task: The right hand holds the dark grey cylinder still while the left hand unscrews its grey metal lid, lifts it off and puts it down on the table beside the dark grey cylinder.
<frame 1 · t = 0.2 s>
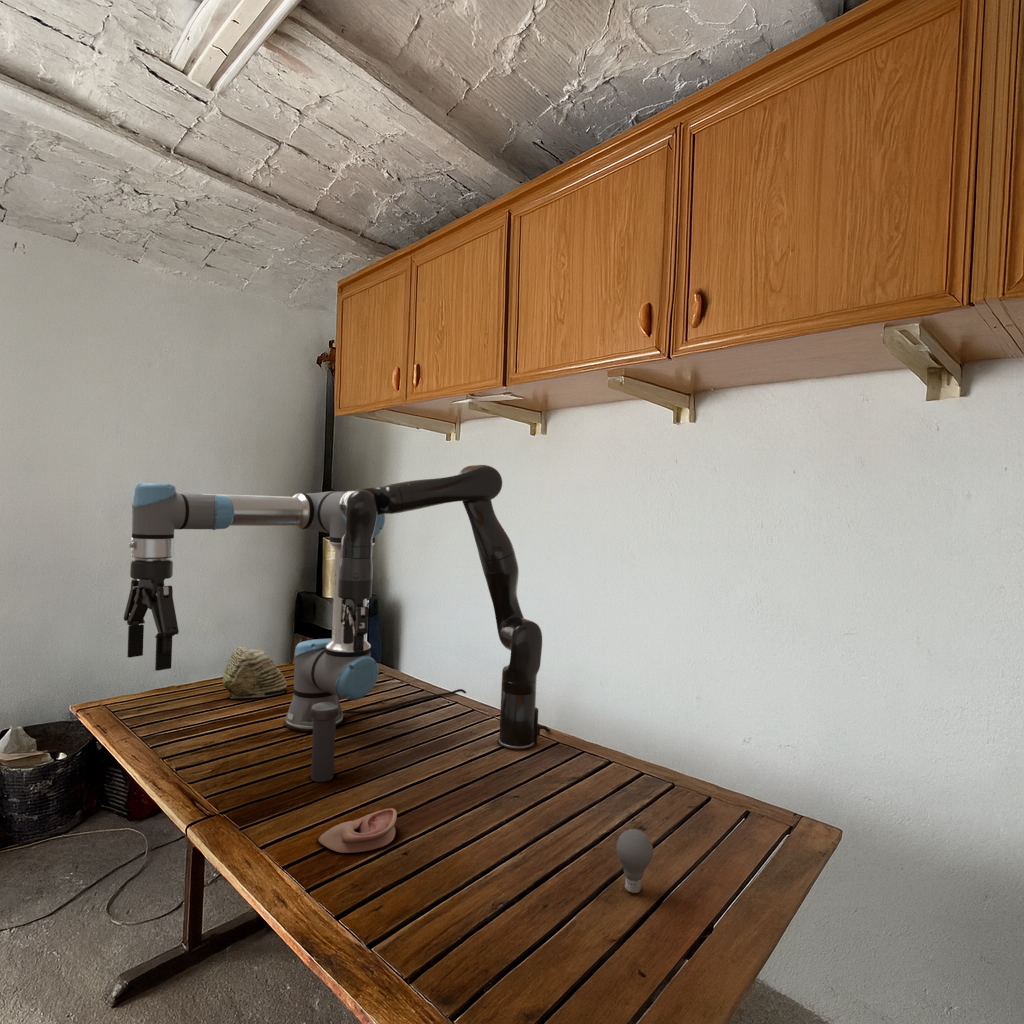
left hand: (148, 662, 129), 28 cm above the table, tool pointing down, fingers open, 13 cm apart
right hand: (352, 647, 145), 29 cm above the table, tool pointing down, fingers open, 8 cm apart
anatomical model: (358, 838, 118), on the table
lid: (325, 707, 143), point 16 cm above the table, screwed on, not yet turned
dark grey cylinder: (322, 777, 143), on the table
light bulb: (632, 891, 106), on the table
fossil: (254, 694, 198), on the table
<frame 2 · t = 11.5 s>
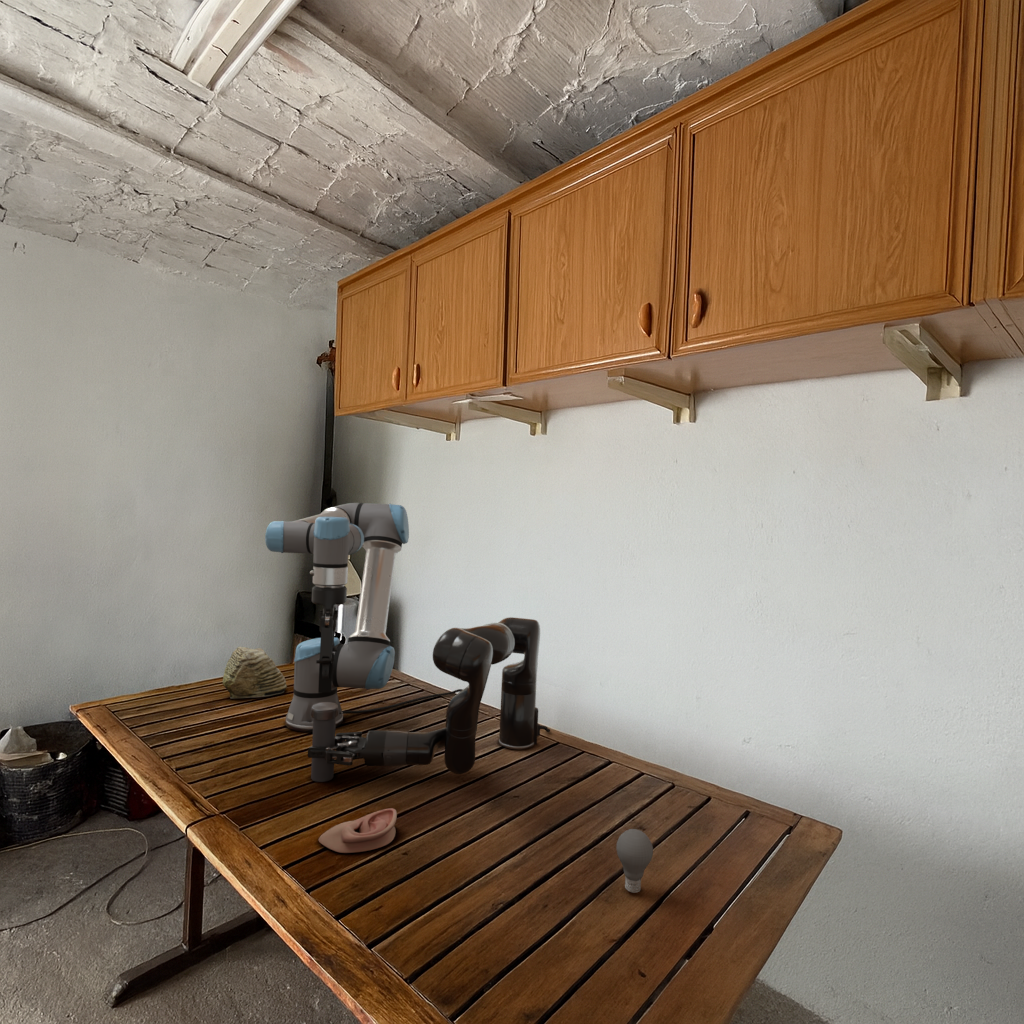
left hand: (325, 686, 143), 21 cm above the table, tool pointing down, fingers open, 8 cm apart
right hand: (311, 747, 143), 7 cm above the table, tool horizontal, fingers closed on dark grey cylinder, 5 cm apart
dark grey cylinder: (322, 777, 143), on the table, touching right hand
everything else where it was.
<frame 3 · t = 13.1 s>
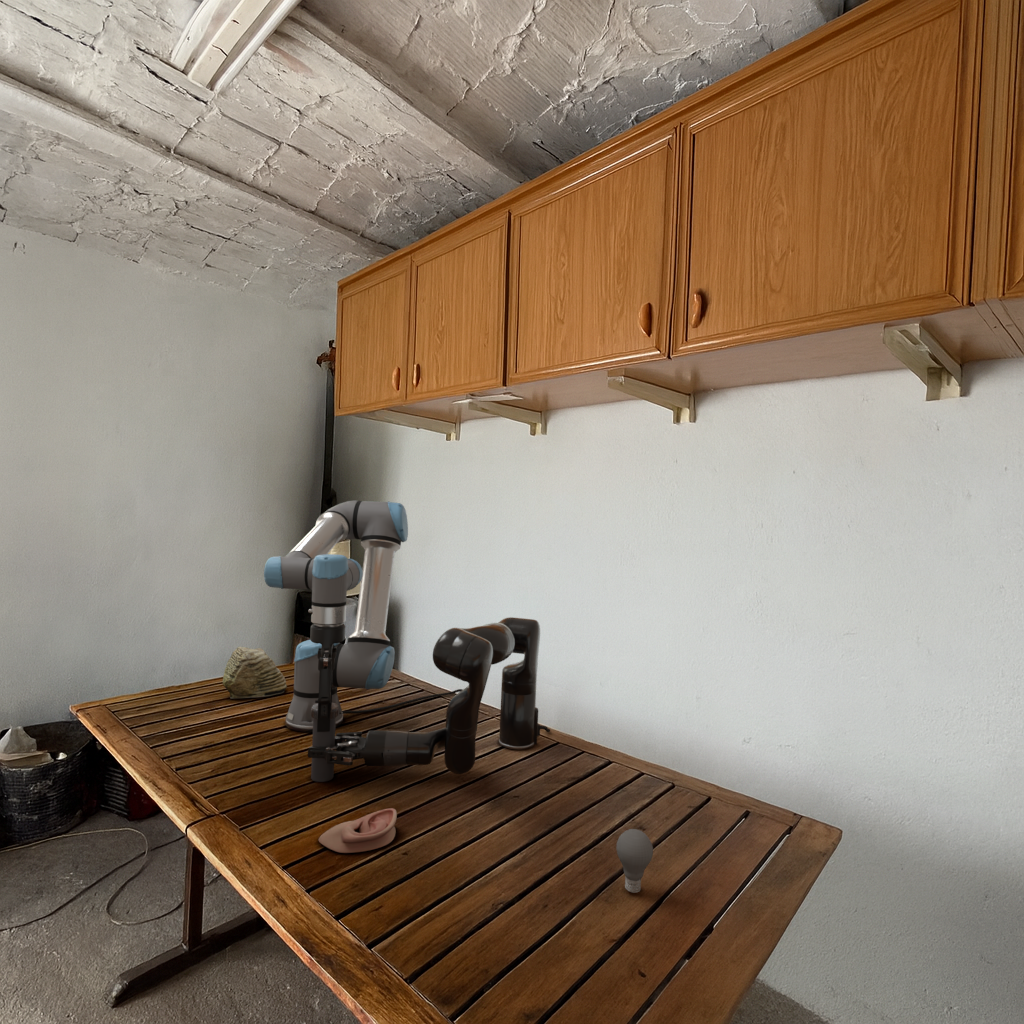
left hand: (324, 725, 143), 12 cm above the table, tool pointing down, fingers closed on lid, 6 cm apart
right hand: (311, 747, 143), 7 cm above the table, tool horizontal, fingers closed on dark grey cylinder, 5 cm apart
lid: (325, 707, 143), point 16 cm above the table, screwed on, not yet turned, touching left hand
dark grey cylinder: (322, 777, 143), on the table, touching right hand
everything else where it was.
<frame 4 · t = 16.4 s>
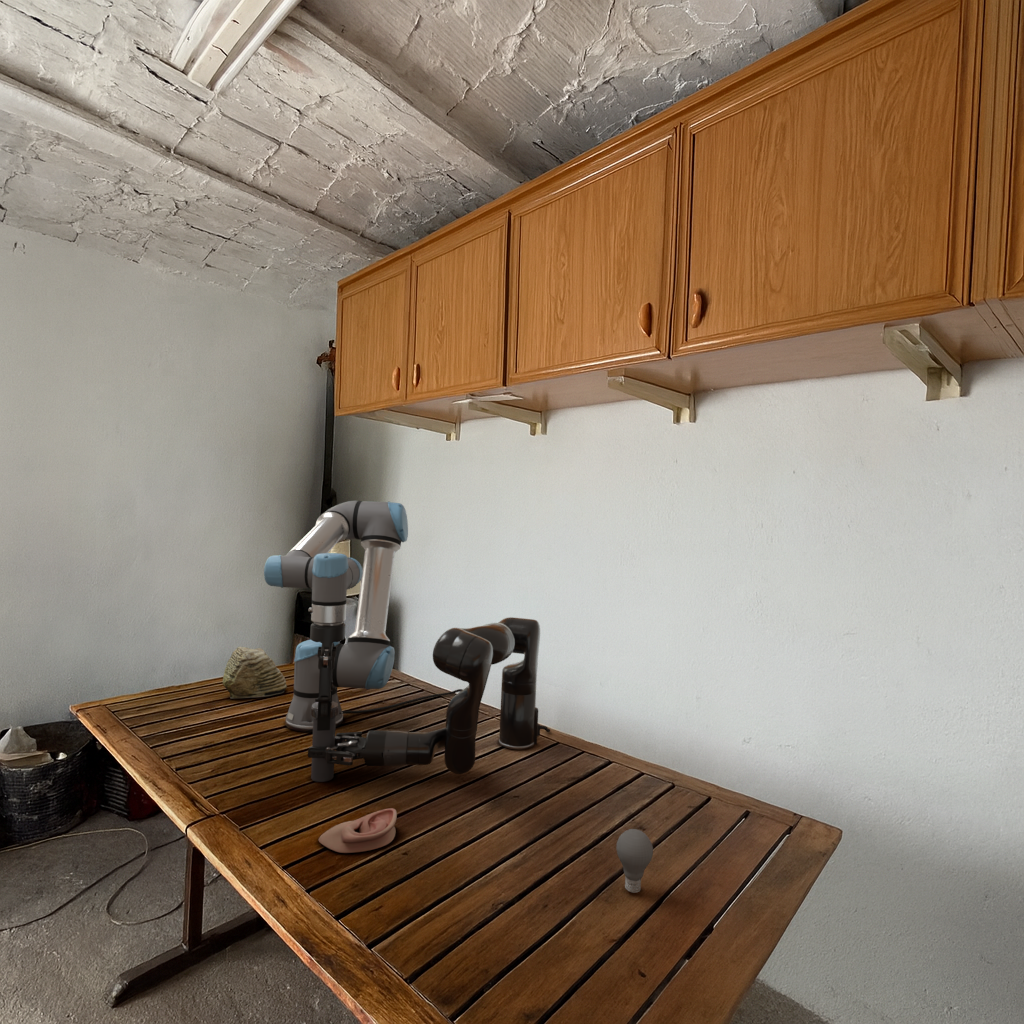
left hand: (324, 724, 143), 12 cm above the table, tool pointing down, fingers closed on lid, 6 cm apart
right hand: (311, 747, 143), 7 cm above the table, tool horizontal, fingers closed on dark grey cylinder, 5 cm apart
lid: (325, 706, 143), point 16 cm above the table, turned 88° so far, risen 0.3 cm, still on its thread, touching left hand
dark grey cylinder: (322, 777, 143), on the table, touching right hand
everything else where it was.
when the left hand's fingers open (0 cm above the table, at t = 23.0 s): lid drops 2 cm, point 2 cm above the table.
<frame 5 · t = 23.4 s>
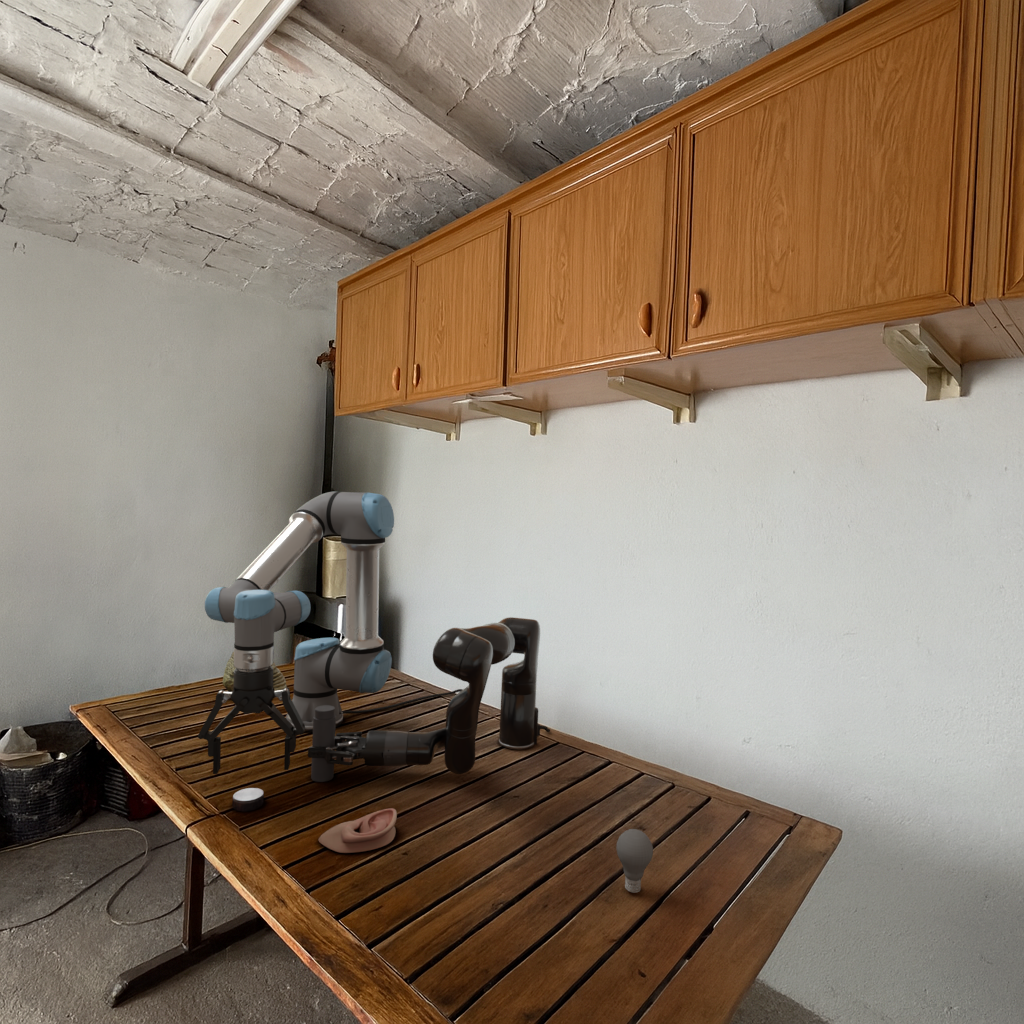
left hand: (252, 769, 130), 7 cm above the table, tool pointing down, fingers open, 13 cm apart
right hand: (311, 747, 143), 7 cm above the table, tool horizontal, fingers closed on dark grey cylinder, 5 cm apart
lid: (248, 795, 129), point 2 cm above the table, off its thread
dark grey cylinder: (322, 777, 143), on the table, touching right hand
everything else where it was.
when the right hand's fingers open (7 cm above the table, at t = 23.7 s): dark grey cylinder stays where it is, on the table.
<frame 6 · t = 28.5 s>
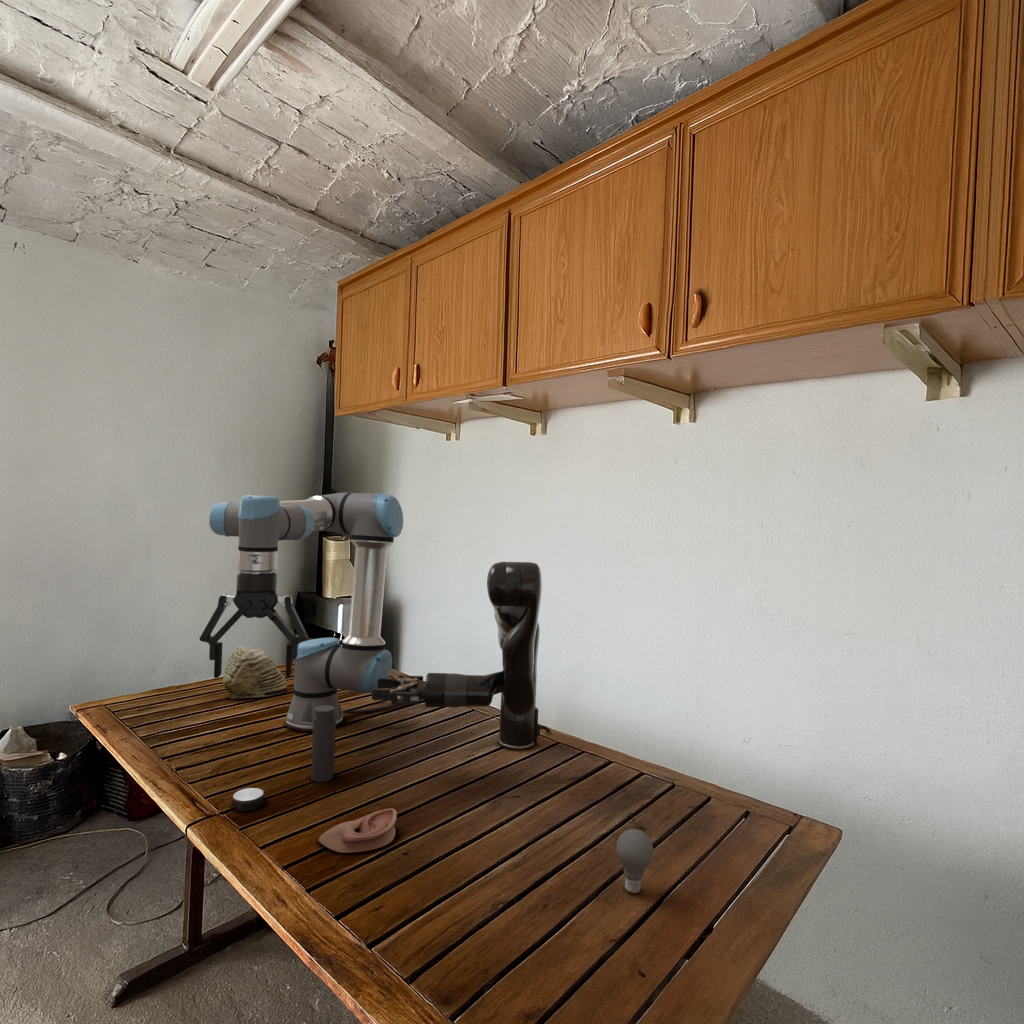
left hand: (253, 675, 129), 26 cm above the table, tool pointing down, fingers open, 13 cm apart
right hand: (375, 688, 143), 20 cm above the table, tool horizontal, fingers open, 8 cm apart
dark grey cylinder: (322, 777, 143), on the table
everything else where it was.
at the end: lid came off its thread; lid point 1.8 cm above the table; the left hand is holding nothing; the right hand is holding nothing; dark grey cylinder tilted 0°; dark grey cylinder moved 0.0 cm from its start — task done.
